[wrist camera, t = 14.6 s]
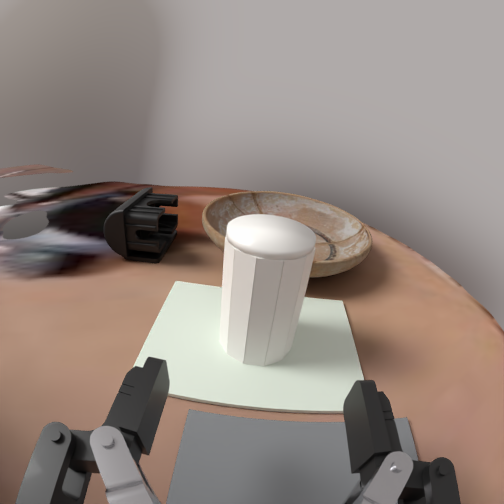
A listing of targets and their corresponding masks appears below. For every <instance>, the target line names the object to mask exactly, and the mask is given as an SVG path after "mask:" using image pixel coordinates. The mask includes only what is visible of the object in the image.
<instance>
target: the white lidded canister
mask: <svg viewBox="0 0 504 504" xmlns="http://www.w3.org/2000/svg"><path fill="white" fill-rule="evenodd" d="M315 242H316V235H315V233H314V232H313V231H312V230H311V229H310V228H309V227H307V226H306V225H304V224H302V223H300V222H298V221H295V220H292V219H289V218H285V217H281V216H275V215H267V214H252V215H244V216H240V217H237V218H235V219H233V220H231V221H230V222H229V223H228V225H227V232H226V237H225V246H224V262H223V279H222V297H221V317H220V339H219V341H220V343H221V345H222V347H223V349H224V350H225V352H226V354H227V355H229V356H230V357H232V358H234V359H236V360H237V361H239V362H241V363H244V364H248V365H257V366H266V365H269V364H272V363H275V362H278V361H281V360H282V359H283V358H284V357H285V356H286V355H287V353H288V352H289V351H290V350H291V347H292V343H293V339H294V336H295V332H296V328H297V324H298V321H299V317H300V313H301V309H302V305H303V301H304V297H305V293H306V289H307V284H308V280H309V276H310V272H311V267H312V263H313V258H314V254H315Z"/></svg>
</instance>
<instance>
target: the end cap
mask: <svg viewBox="0 0 504 504" xmlns="http://www.w3.org/2000/svg"><path fill="white" fill-rule="evenodd" d="M159 206H172V207H177V206H178V195H170V194H155V193H152V187H151V188H145V189H143V190H141V191H139V192H138V193H137V194H135V195H134V196H133V197H131V198H130V199H129V200H128V201H126V202H125V203H124V204H122V205H121V206H120V207H118V208H117V209H116V210H115V211H113V212H112V213H111V214H110V215H109V216H108V217H107V219H106V221H105V223H104V236H105V239H106V241H107V243H108V245H109V246H110V247H111V249H112V250H114V251H115V252H116V253H118V254H119V255H121V256H123V257H124V258H125V259H128V260H132V261H140V262H148V263H159V262H160V261H161V259H162V258H163V256H164V254H165V253H166V251H167V250H168V248H169V246H170V245H171V243H172V242H173V240H174V238H175V237H176V235H177V231H176V230H175V229H176V228H177V225H178V214H166V213H164V212H165V208H160V207H159Z"/></svg>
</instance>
